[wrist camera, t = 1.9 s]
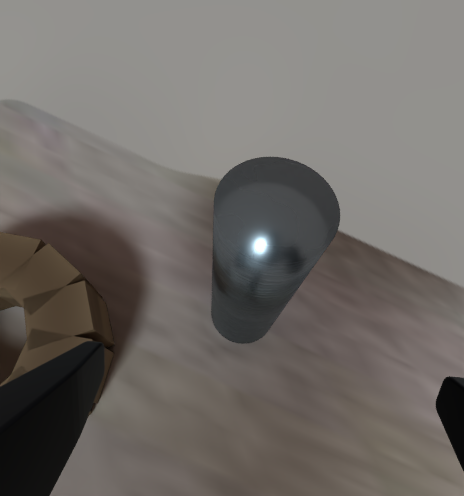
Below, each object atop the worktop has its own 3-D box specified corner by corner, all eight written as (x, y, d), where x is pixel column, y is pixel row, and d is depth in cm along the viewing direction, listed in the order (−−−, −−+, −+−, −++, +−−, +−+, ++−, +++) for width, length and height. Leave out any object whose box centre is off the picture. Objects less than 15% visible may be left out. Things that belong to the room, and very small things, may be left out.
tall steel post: (283, 330, 21) (363, 240, 10) (223, 352, 20) (240, 280, 9) (259, 275, 22) (305, 145, 12) (203, 293, 21) (197, 172, 11)
